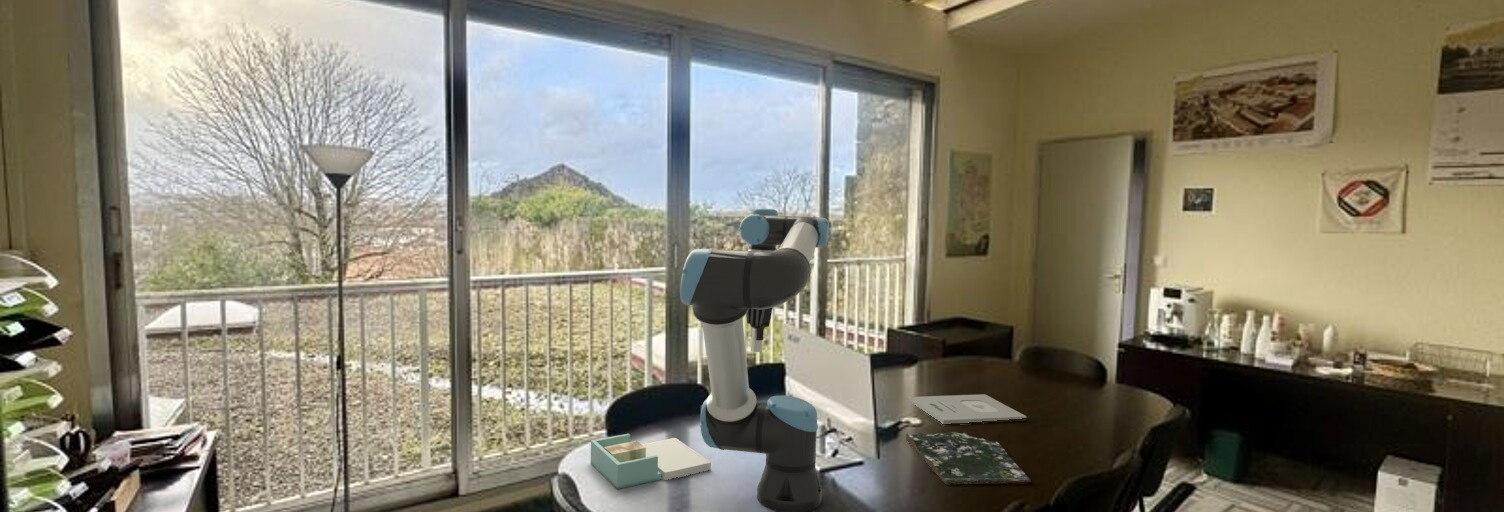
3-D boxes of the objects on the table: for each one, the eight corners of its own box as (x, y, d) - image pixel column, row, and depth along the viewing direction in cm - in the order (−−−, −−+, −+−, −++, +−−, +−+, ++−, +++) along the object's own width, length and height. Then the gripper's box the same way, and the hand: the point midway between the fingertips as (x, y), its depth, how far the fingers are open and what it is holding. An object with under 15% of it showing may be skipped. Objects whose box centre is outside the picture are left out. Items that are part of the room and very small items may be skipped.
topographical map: (945, 487, 166) (946, 475, 165) (903, 439, 198) (903, 429, 198) (1043, 486, 168) (1044, 474, 168) (985, 439, 201) (986, 429, 201)
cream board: (710, 470, 170) (710, 462, 170) (664, 480, 163) (664, 472, 163) (675, 444, 187) (675, 437, 186) (632, 453, 179) (632, 445, 179)
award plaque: (908, 402, 235) (909, 396, 234) (984, 400, 241) (985, 394, 241) (943, 426, 211) (943, 420, 211) (1026, 422, 217) (1026, 416, 217)
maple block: (645, 447, 168) (612, 454, 163) (645, 468, 168) (612, 476, 163) (636, 440, 172) (603, 447, 167) (636, 461, 173) (603, 468, 168)
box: (661, 479, 163) (661, 455, 163) (617, 489, 157) (617, 464, 156) (631, 454, 178) (632, 433, 178) (590, 462, 172) (590, 440, 171)
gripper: (786, 267, 177) (781, 355, 177) (759, 264, 188) (754, 346, 188) (763, 267, 173) (757, 356, 173) (737, 263, 183) (732, 347, 184)
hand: (756, 351), depth 181 cm, fingers closed
